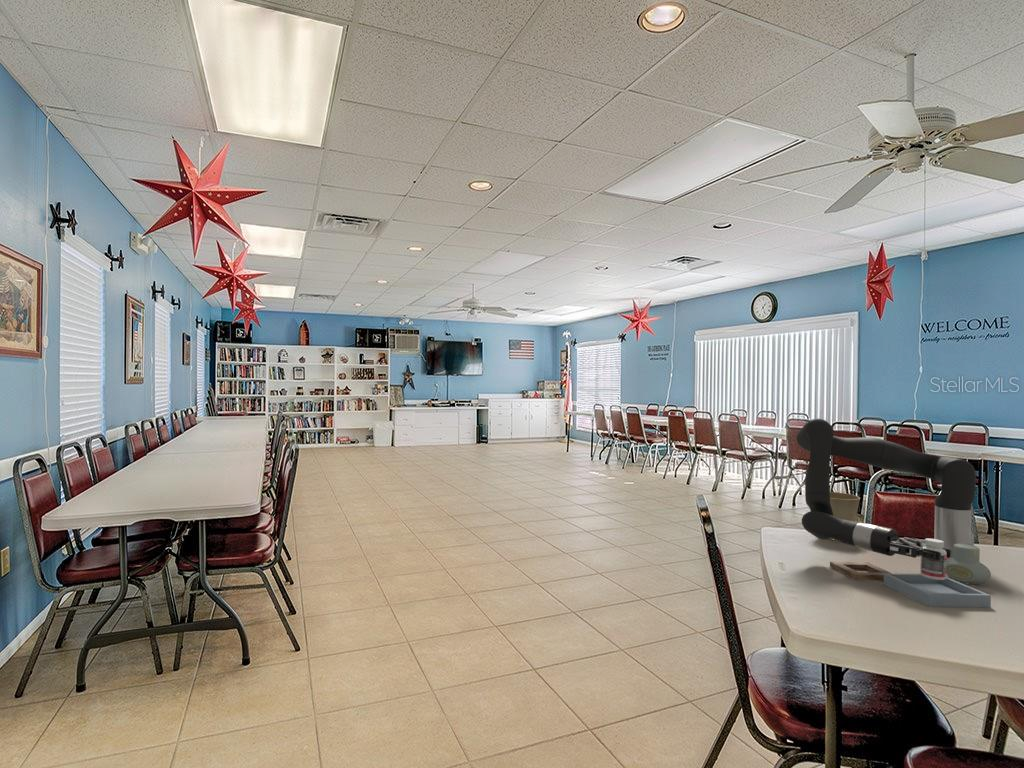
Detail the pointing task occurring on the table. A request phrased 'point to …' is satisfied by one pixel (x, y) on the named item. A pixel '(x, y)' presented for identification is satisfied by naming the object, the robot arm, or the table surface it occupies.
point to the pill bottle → (934, 561)
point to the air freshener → (967, 565)
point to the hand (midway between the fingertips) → (945, 555)
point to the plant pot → (844, 505)
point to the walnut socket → (850, 568)
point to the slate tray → (937, 591)
